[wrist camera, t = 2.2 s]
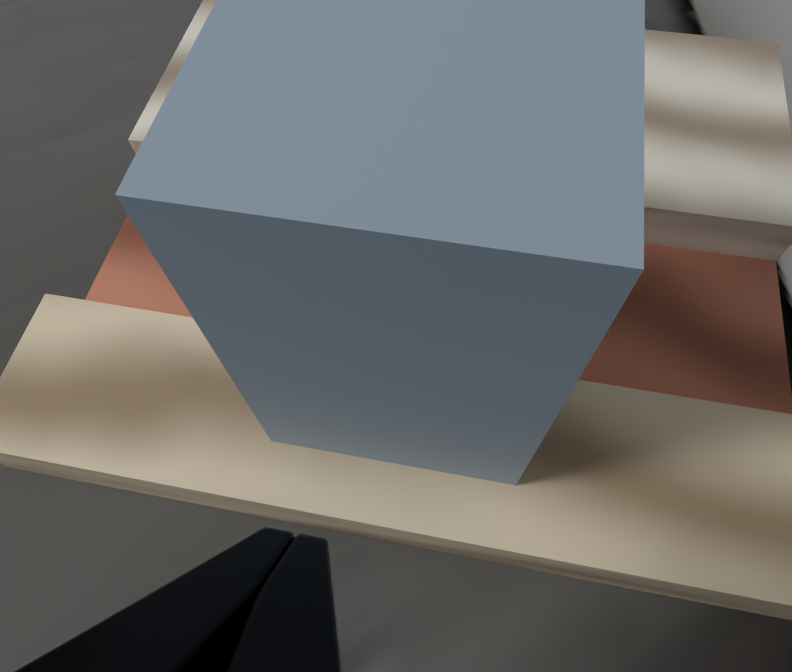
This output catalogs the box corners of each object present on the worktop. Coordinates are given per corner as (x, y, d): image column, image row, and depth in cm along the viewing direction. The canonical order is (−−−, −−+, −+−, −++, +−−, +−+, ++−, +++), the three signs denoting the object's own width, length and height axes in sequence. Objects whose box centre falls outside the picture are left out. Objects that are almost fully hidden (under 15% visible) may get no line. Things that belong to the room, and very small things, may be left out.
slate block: (515, 485, 19) (644, 269, 9) (271, 440, 20) (114, 194, 9) (536, 275, 23) (645, -57, 12) (328, 245, 24) (262, -90, 13)
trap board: (812, 624, 19) (864, 619, 17) (7, 466, 22) (-37, 445, 20) (751, 87, 31) (778, 42, 29) (223, 30, 34) (210, -14, 32)
